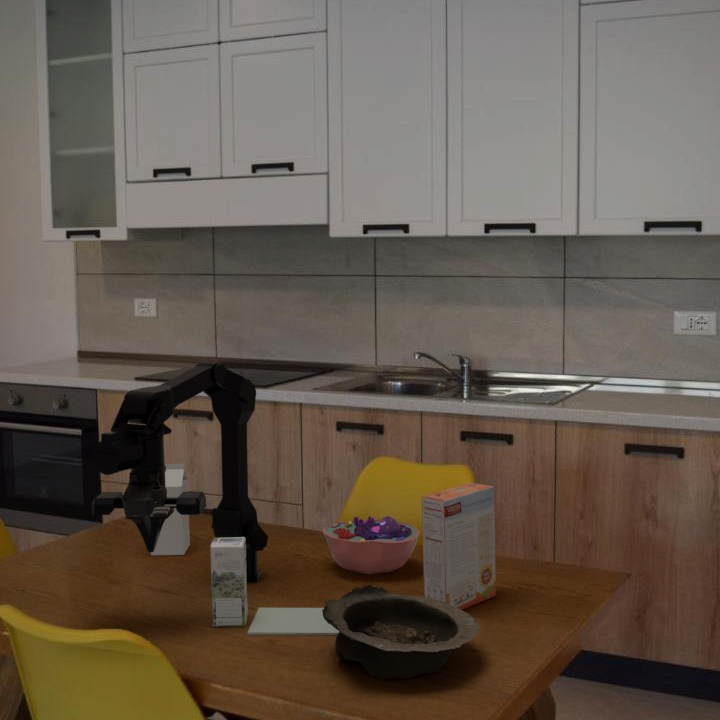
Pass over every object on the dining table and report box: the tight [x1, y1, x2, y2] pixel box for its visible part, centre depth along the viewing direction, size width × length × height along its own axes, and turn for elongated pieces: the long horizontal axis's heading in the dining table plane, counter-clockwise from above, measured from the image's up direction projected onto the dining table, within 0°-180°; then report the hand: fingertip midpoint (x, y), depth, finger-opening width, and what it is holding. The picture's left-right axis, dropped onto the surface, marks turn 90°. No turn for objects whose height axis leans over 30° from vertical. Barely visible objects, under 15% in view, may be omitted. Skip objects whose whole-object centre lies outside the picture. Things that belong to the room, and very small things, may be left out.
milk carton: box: [150, 463, 191, 556], centre depth 222 cm, size 7×7×19 cm
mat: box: [247, 607, 339, 636], centre depth 180 cm, size 12×16×1 cm
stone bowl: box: [322, 585, 481, 680], centre depth 162 cm, size 25×25×9 cm
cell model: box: [321, 515, 421, 575], centre depth 207 cm, size 17×20×11 cm
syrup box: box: [209, 537, 249, 628], centre depth 180 cm, size 6×6×14 cm
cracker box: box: [421, 481, 497, 611], centre depth 187 cm, size 14×6×21 cm, turn 134°
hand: (151, 551), depth 180 cm, fingers closed
